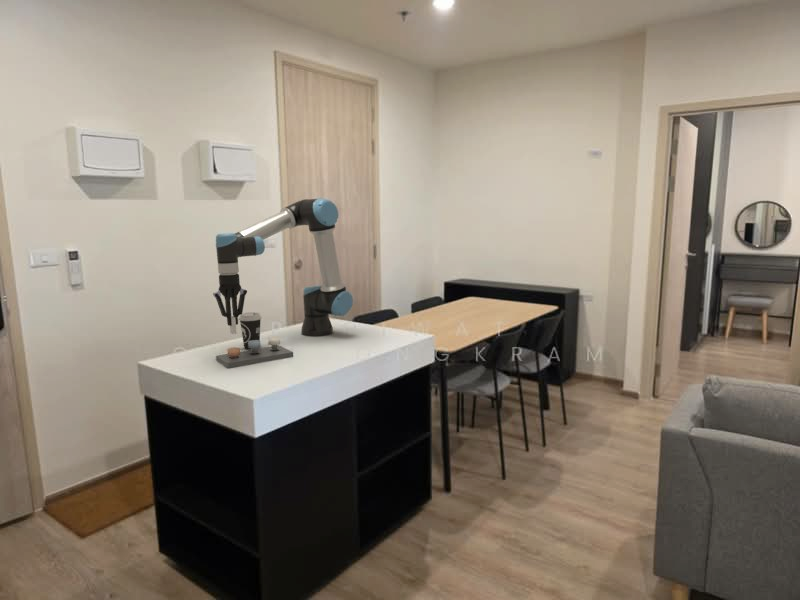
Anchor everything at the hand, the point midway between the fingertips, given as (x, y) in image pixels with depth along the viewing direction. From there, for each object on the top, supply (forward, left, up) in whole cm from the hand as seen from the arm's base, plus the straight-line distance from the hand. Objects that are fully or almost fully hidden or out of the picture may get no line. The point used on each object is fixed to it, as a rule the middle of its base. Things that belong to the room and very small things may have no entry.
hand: (233, 333), depth 214 cm
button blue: (-8, 0, -9) cm, 12 cm away
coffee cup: (-14, -18, -12) cm, 25 cm away
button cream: (-17, 0, -9) cm, 19 cm away
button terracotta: (0, 0, -11) cm, 11 cm away
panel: (-8, 0, -12) cm, 14 cm away
